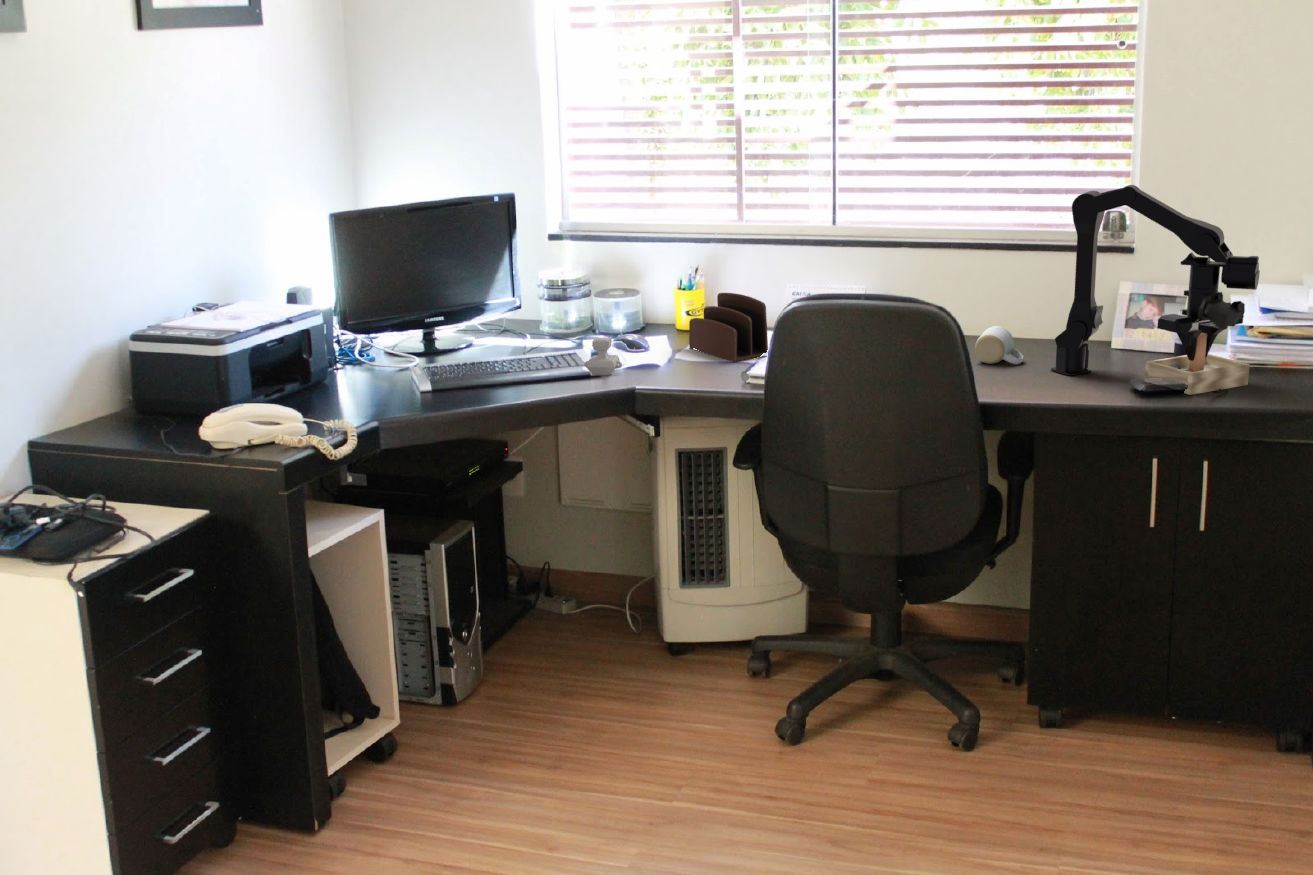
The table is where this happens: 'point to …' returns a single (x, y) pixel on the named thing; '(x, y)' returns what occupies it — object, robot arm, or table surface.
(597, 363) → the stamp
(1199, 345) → the peg
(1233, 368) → the tray
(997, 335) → the ceramic mug
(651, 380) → the table surface
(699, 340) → the letter holder
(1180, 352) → the beverage can
